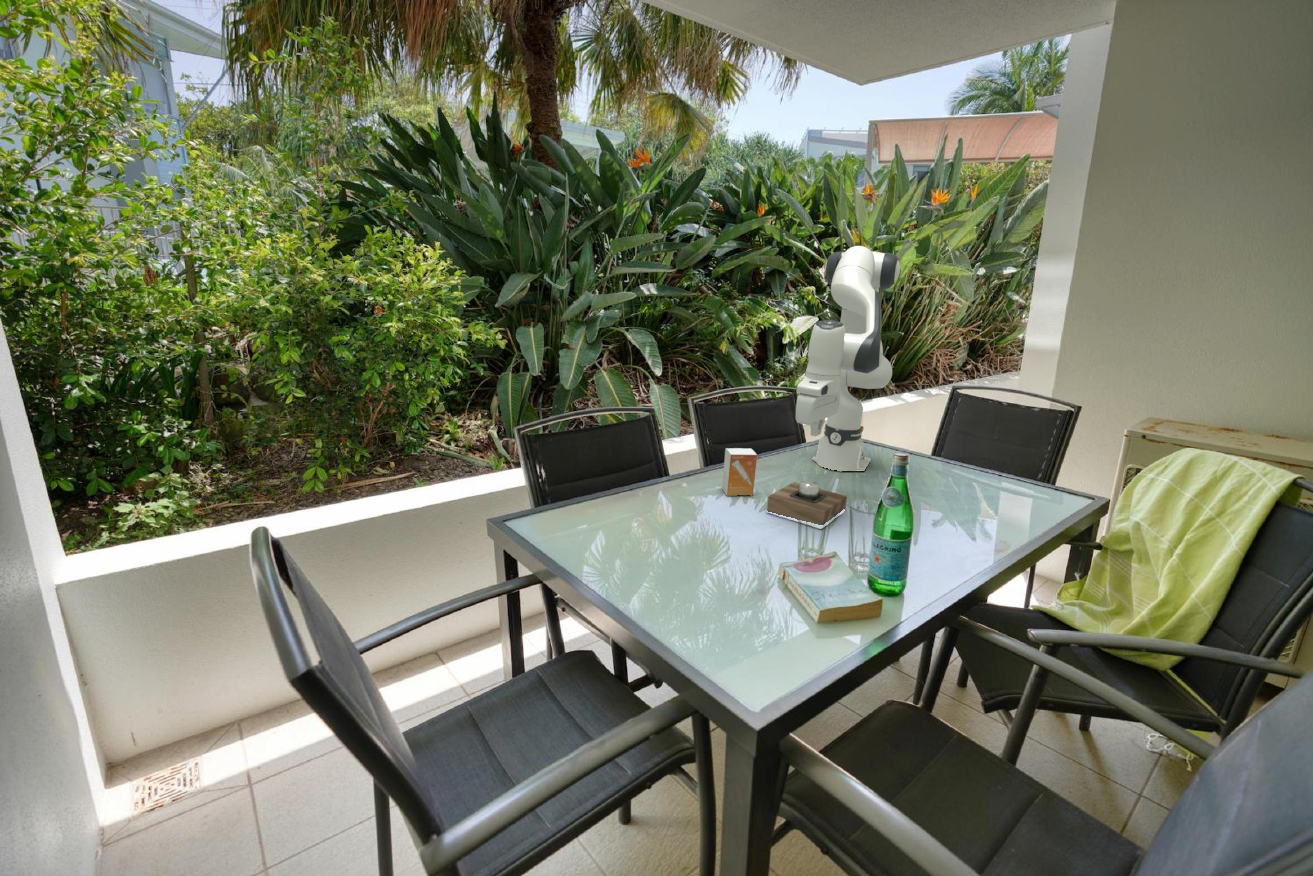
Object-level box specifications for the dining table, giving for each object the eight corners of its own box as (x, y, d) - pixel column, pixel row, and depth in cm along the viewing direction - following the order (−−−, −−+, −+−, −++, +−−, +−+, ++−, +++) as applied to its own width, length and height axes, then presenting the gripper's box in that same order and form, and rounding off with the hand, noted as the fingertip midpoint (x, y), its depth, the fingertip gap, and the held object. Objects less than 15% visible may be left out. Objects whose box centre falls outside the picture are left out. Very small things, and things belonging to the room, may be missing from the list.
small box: (726, 496, 180) (730, 454, 176) (721, 489, 186) (725, 447, 182) (753, 496, 181) (757, 454, 177) (747, 488, 187) (751, 447, 183)
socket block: (792, 497, 181) (794, 481, 180) (844, 512, 172) (847, 495, 171) (766, 513, 169) (768, 495, 167) (821, 530, 160) (824, 511, 158)
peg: (803, 494, 173) (805, 479, 171) (820, 499, 170) (822, 483, 169) (795, 499, 169) (797, 483, 168) (812, 504, 166) (814, 488, 165)
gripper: (826, 377, 170) (820, 426, 174) (793, 386, 155) (787, 439, 158) (848, 381, 167) (841, 430, 170) (817, 390, 151) (810, 444, 155)
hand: (815, 435), depth 164 cm, fingers closed
